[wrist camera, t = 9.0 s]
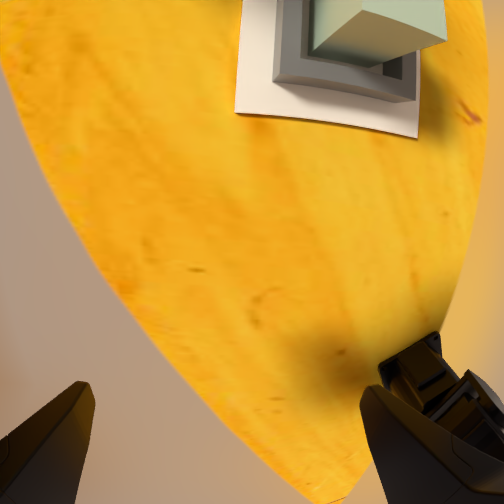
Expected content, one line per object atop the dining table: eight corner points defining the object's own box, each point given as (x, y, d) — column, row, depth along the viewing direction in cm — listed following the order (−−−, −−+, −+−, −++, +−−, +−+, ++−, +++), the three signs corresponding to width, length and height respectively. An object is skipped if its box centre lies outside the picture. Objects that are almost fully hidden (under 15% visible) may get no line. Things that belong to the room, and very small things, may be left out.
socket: (413, -10, 14) (434, -22, 11) (414, 137, 18) (439, 140, 15) (247, -49, 13) (251, -72, 10) (234, 112, 17) (236, 108, 14)
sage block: (368, 15, 15) (438, -30, 7) (368, 68, 16) (447, 40, 9) (309, 1, 14) (358, -62, 7) (307, 55, 16) (362, 9, 8)
